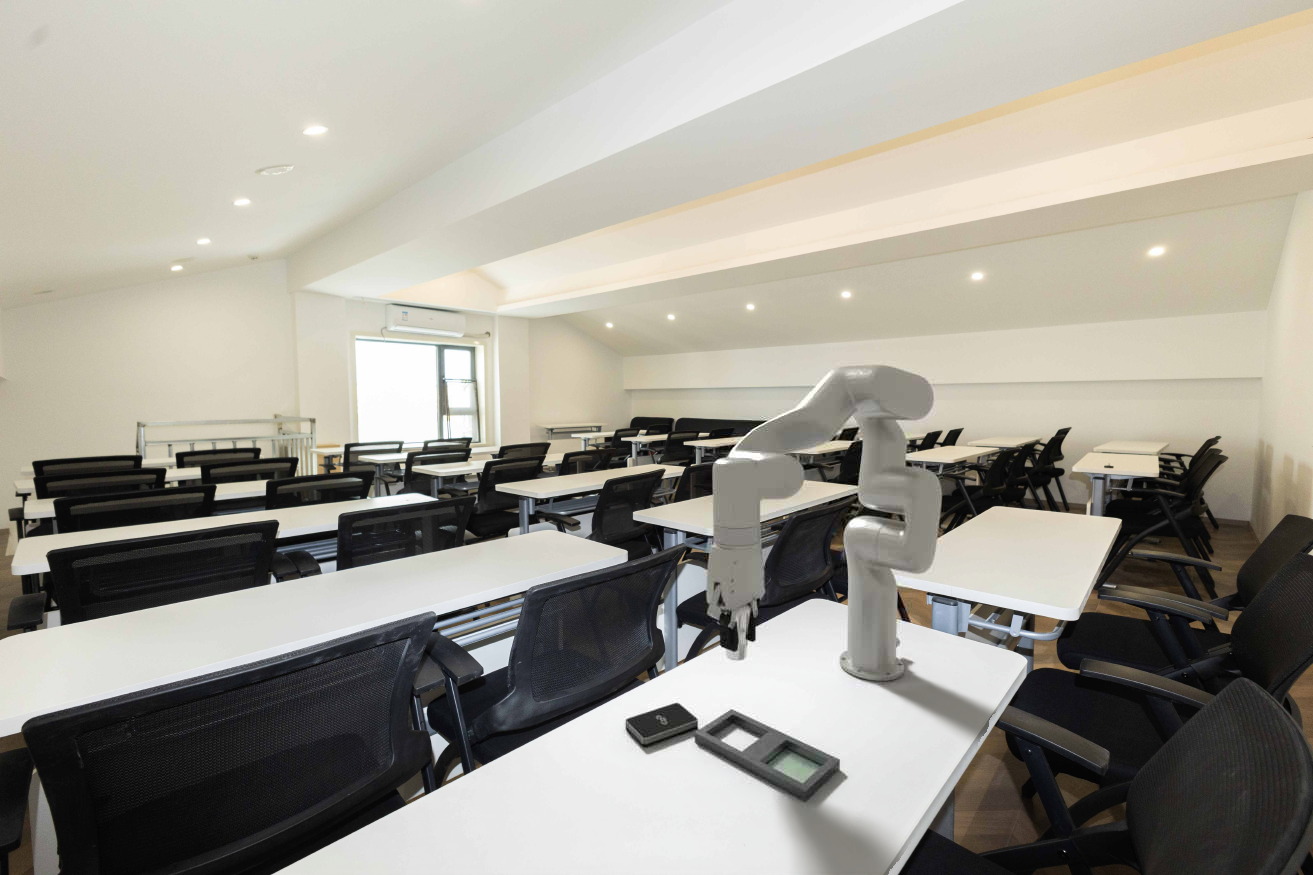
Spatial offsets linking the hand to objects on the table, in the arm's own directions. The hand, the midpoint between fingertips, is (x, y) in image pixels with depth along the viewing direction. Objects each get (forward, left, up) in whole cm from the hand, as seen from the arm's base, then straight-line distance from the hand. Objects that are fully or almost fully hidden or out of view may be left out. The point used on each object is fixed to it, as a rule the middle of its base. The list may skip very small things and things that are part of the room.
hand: (738, 642), depth 97 cm
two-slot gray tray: (0, +5, -17) cm, 18 cm away
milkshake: (0, 0, -3) cm, 3 cm away
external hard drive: (+6, -12, -17) cm, 22 cm away
